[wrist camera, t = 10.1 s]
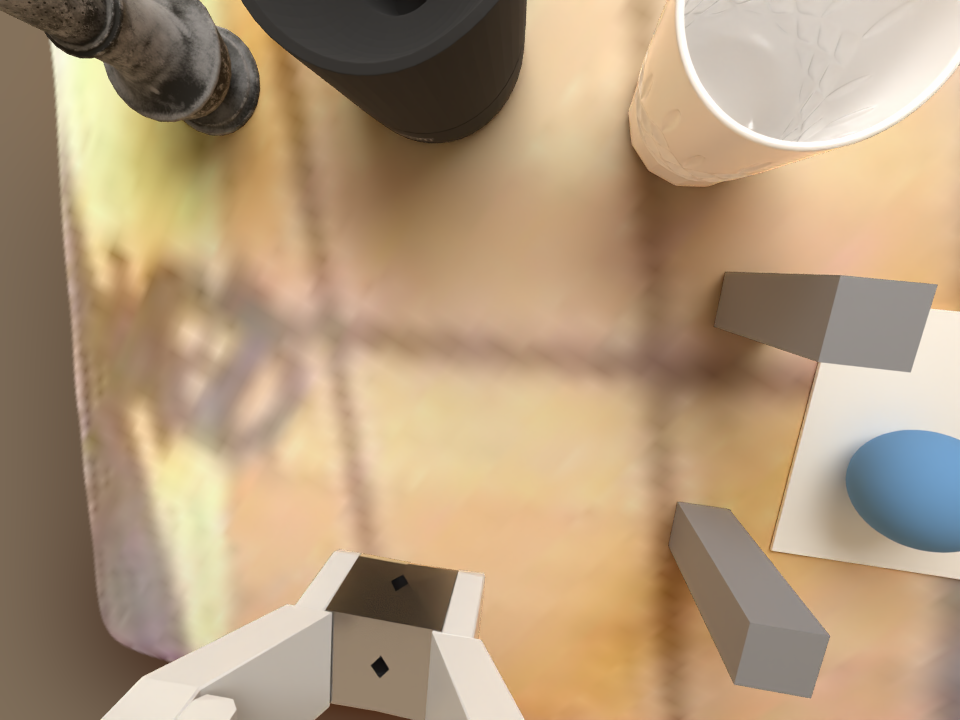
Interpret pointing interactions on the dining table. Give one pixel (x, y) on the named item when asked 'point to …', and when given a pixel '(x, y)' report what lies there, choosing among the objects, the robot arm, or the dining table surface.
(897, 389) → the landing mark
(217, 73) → the grey chess piece
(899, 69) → the white cup
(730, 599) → the post
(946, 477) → the ball
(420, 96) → the pen holder
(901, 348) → the post
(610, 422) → the dining table surface
